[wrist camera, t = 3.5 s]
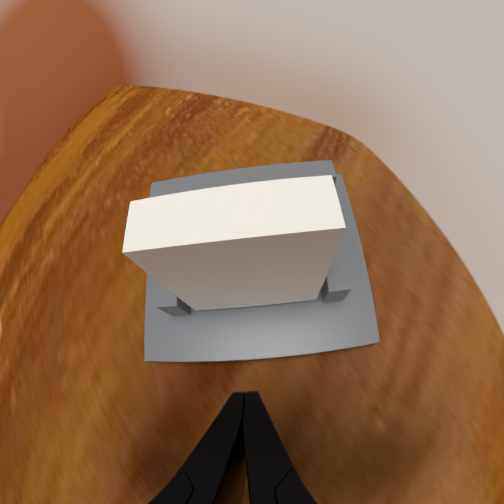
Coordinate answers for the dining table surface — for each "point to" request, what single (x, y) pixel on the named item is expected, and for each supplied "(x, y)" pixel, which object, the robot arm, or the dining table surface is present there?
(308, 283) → the key
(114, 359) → the dining table surface
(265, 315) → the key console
